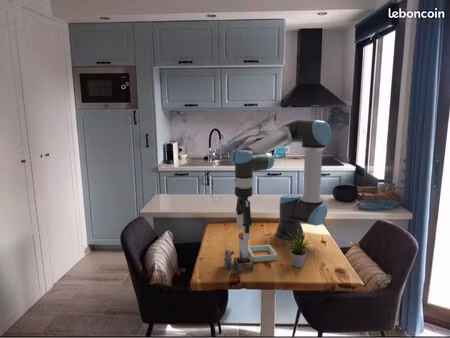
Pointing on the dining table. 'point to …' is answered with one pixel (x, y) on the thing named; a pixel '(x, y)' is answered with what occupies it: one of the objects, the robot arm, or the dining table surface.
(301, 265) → the house plant
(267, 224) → the dining table surface
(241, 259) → the pin
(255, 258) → the tray
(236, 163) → the robot arm
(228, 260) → the block
